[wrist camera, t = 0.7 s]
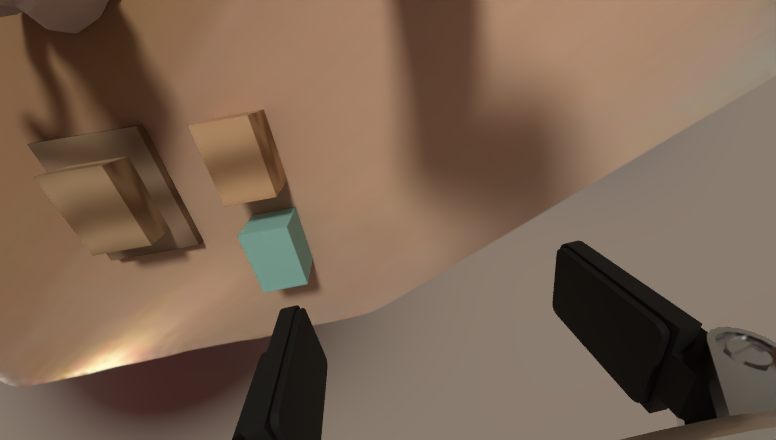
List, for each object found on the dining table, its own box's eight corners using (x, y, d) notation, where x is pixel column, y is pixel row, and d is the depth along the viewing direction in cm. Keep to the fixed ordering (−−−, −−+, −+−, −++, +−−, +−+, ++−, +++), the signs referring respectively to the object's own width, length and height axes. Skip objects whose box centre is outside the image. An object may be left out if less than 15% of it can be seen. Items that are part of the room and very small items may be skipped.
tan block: (213, 117, 34) (187, 125, 29) (264, 109, 34) (247, 115, 29) (242, 188, 38) (224, 206, 33) (287, 180, 38) (276, 196, 33)
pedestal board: (37, 141, 33) (-14, 152, 28) (142, 124, 33) (108, 132, 29) (117, 255, 40) (87, 278, 36) (203, 240, 41) (183, 261, 36)
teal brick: (253, 214, 40) (237, 236, 35) (295, 207, 40) (286, 227, 35) (274, 266, 44) (263, 292, 39) (313, 259, 44) (307, 284, 39)
